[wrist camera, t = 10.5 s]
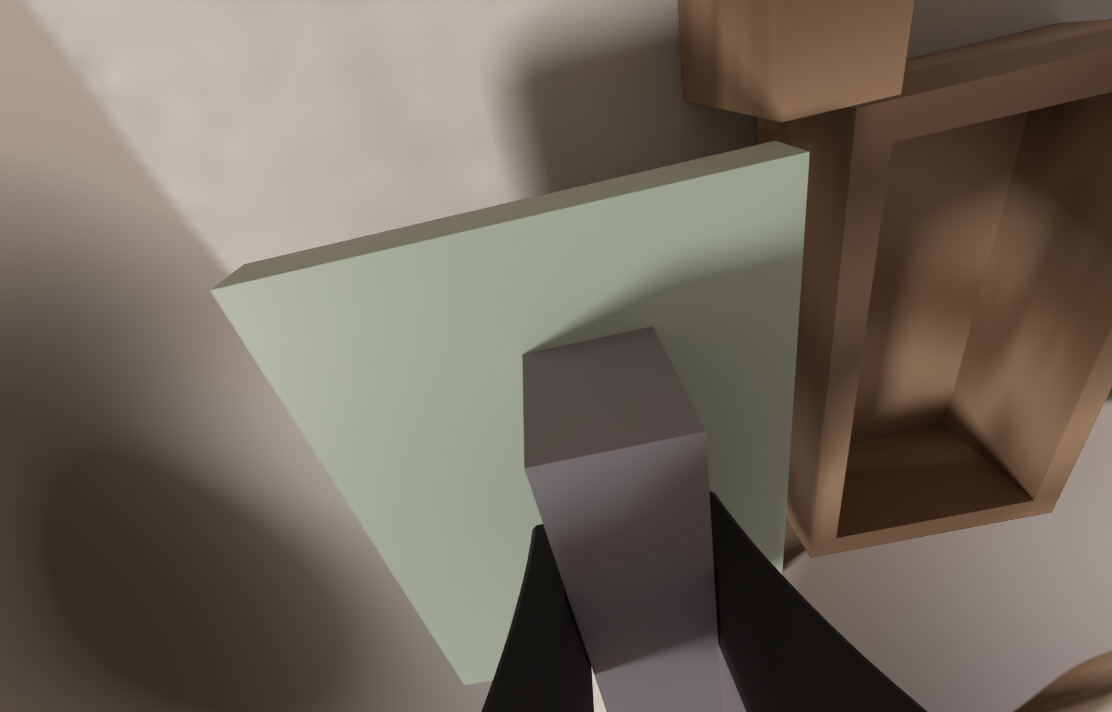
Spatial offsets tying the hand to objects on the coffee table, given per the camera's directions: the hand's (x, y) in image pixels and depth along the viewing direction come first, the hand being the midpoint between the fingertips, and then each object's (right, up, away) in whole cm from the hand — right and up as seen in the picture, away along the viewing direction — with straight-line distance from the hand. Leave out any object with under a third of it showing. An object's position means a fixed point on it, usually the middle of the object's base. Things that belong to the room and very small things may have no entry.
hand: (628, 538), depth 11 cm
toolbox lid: (0, +2, +3) cm, 3 cm away
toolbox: (+8, +8, +5) cm, 12 cm away
